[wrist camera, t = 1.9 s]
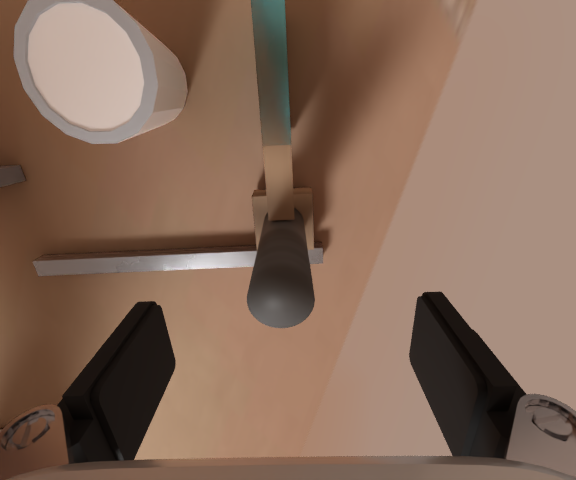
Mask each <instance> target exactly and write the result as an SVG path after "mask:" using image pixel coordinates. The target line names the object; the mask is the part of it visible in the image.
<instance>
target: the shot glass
mask: <svg viewBox="0 0 576 480" xmlns="http://www.w3.org/2000/svg"><path fill="white" fill-rule="evenodd" d="M14 61H15V64H16V67H17V70H18V73H19V76H20V79H21V82H22V86H23V89H24V90H25V91H26V93H27V94H28V96H29V97H30V99H31V100H32V102H33V103H34V104H35V106H36V107H37V109H38V110H39V112H40V113H41V115H42V116H44V117H45V118H46V119H47V120H49V121H50V122H51V123H52V124H54V125H55V126H56V127H57V128H59V129H60V130H61V131H62V132H64V133H65V134H66V135H69V136H72V137H75V138H77V139H80V140H83V141H85V142H88V143H91V144H115V143H119V142H122V141H125V140H127V139H130V138H132V137H135V136H137V135H140V134H143V133H145V132H148V131H150V130H153V129H155V128H158V127H161V126H163V125H165V124H167V123H169V122H171V121H173V120H175V119H176V117H177V116H178V115H179V114H180V112H181V111H182V110H183V108H184V106H185V102H186V97H187V93H188V89H187V81H186V74H185V72H184V70H183V68H182V66H181V64H180V62H179V60H178V58H177V56H175V55H174V54H173V53H172V52H171V51H170V50H169V49H168V48H167V47H166V46H165V45H164V44H163V43H162V42H161V41H160V40H159V39H157V38H156V37H155V36H154V35H153V34H152V33H150V32H149V31H148V30H147V29H146V28H145V27H144V26H142V25H141V24H140V23H139V22H138V21H137V20H135V19H134V18H133V17H132V16H131V15H130V14H128V13H127V12H126V11H125V10H124V9H123V8H122V7H120V6H119V5H118V4H117V3H116V2H115V1H113V0H28V1H27V3H26V5H25V7H24V9H23V11H22V13H21V15H20V17H19V19H18V21H17V23H16V25H15V30H14Z"/></svg>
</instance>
